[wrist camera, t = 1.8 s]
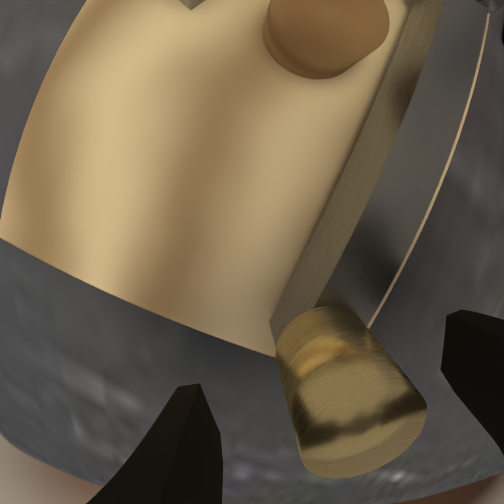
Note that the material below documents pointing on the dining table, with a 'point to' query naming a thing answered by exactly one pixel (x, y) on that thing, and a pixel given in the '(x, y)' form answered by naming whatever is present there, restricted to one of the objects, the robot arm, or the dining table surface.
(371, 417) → the press lever
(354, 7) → the brown cylinder
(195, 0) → the gray block
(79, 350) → the dining table surface
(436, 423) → the dining table surface
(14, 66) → the dining table surface
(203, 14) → the board
